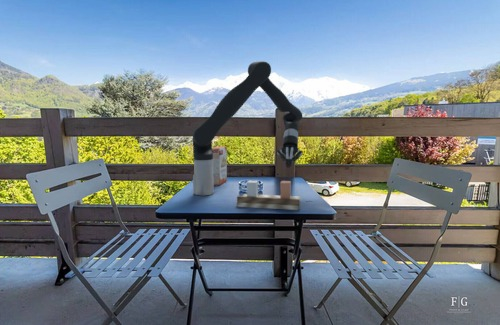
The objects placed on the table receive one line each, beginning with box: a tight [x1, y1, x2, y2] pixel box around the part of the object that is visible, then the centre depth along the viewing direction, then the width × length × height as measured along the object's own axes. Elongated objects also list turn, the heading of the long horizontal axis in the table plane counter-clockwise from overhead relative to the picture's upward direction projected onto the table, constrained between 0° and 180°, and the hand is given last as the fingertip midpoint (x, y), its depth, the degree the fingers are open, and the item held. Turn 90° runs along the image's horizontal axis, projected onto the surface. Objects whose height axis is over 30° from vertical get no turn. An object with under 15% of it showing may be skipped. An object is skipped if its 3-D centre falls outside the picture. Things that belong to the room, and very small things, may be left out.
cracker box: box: [212, 146, 228, 186], centre depth 158 cm, size 14×6×21 cm, turn 168°
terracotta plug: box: [279, 180, 292, 199], centre depth 116 cm, size 4×4×8 cm
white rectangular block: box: [246, 179, 259, 197], centre depth 117 cm, size 4×4×8 cm
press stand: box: [236, 193, 301, 211], centre depth 119 cm, size 26×15×4 cm, turn 78°
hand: (288, 167), depth 130 cm, fingers closed
